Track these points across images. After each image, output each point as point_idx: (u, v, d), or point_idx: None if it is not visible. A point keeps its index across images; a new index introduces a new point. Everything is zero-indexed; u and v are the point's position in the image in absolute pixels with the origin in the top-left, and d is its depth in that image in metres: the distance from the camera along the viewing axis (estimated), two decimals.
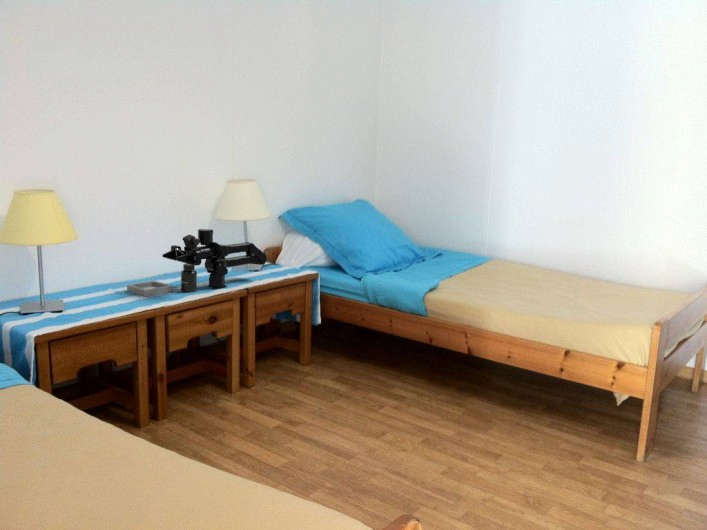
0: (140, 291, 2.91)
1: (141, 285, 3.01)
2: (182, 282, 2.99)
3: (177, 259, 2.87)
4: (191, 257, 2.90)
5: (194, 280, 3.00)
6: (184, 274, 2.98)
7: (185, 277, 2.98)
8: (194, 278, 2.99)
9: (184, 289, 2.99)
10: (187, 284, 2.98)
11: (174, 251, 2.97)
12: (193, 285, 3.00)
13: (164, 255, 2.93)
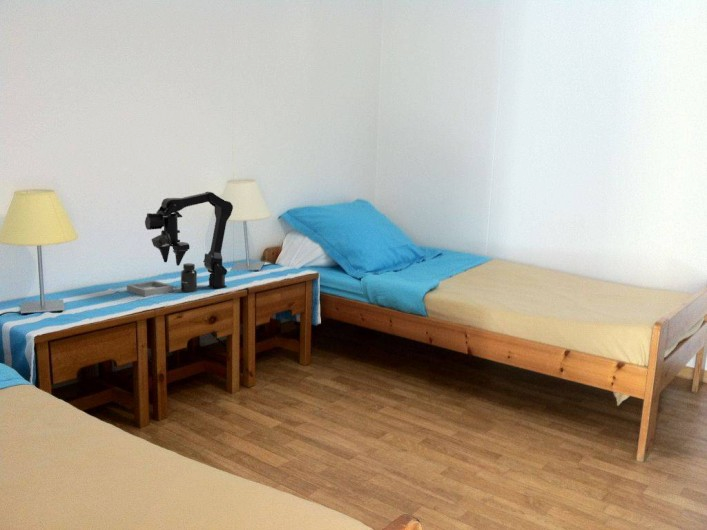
0: (140, 291, 2.91)
1: (141, 285, 3.01)
2: (182, 282, 2.99)
3: (178, 263, 2.93)
4: None
5: (194, 280, 3.00)
6: (184, 274, 2.98)
7: (185, 277, 2.98)
8: (194, 278, 2.99)
9: (184, 289, 2.99)
10: (187, 284, 2.98)
11: (162, 248, 2.97)
12: (193, 285, 3.00)
13: (165, 260, 2.98)
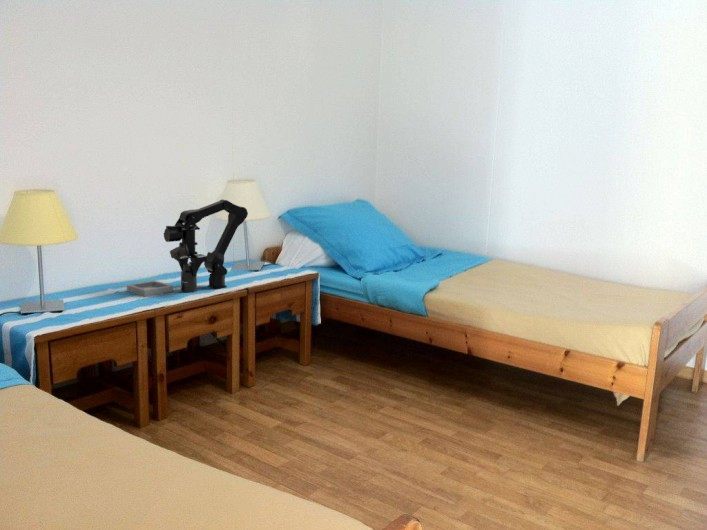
0: (140, 291, 2.91)
1: (141, 285, 3.01)
2: (182, 282, 2.99)
3: (194, 275, 2.98)
4: None
5: (194, 280, 3.00)
6: (184, 274, 2.98)
7: (185, 277, 2.98)
8: (194, 278, 2.99)
9: (184, 289, 2.99)
10: (187, 284, 2.98)
11: (181, 260, 3.01)
12: (193, 285, 2.99)
13: None
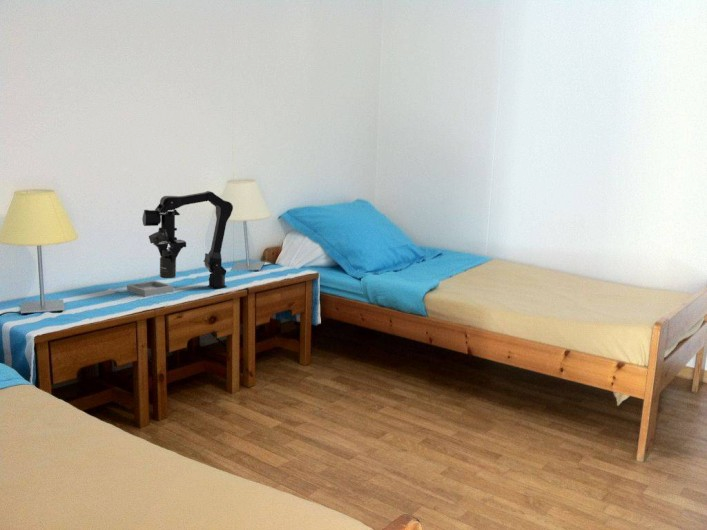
0: (140, 291, 2.91)
1: (141, 285, 3.01)
2: (161, 268, 2.96)
3: (173, 260, 2.95)
4: (175, 248, 2.93)
5: (173, 266, 2.96)
6: (163, 260, 2.94)
7: (164, 263, 2.94)
8: (173, 264, 2.96)
9: (163, 275, 2.96)
10: (166, 270, 2.95)
11: (160, 245, 2.98)
12: (172, 271, 2.96)
13: None
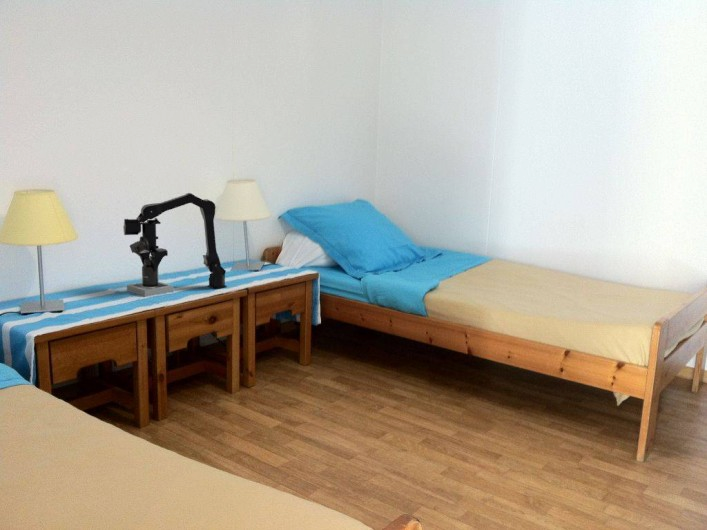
0: (140, 291, 2.91)
1: (141, 285, 3.01)
2: (143, 277, 2.95)
3: (155, 269, 2.95)
4: None
5: (155, 274, 2.96)
6: (145, 268, 2.94)
7: (146, 272, 2.94)
8: (155, 272, 2.96)
9: (145, 284, 2.95)
10: (148, 279, 2.94)
11: (142, 254, 2.98)
12: (154, 280, 2.96)
13: None
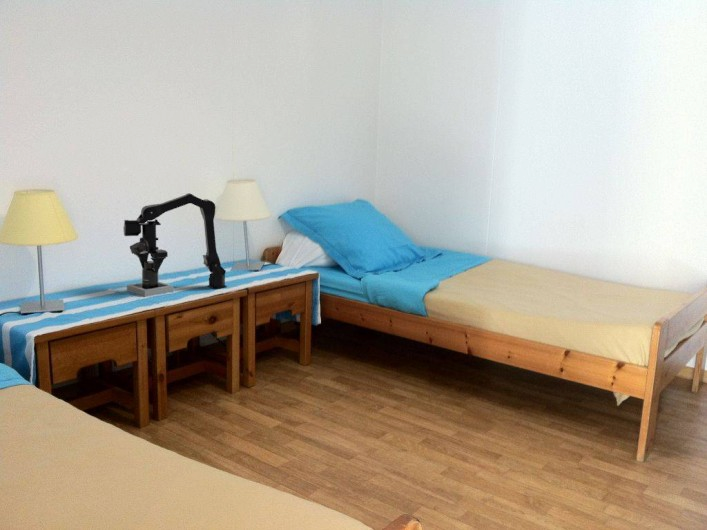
0: (140, 291, 2.91)
1: (141, 285, 3.01)
2: (143, 280, 2.95)
3: (156, 271, 2.94)
4: None
5: (155, 278, 2.96)
6: (145, 272, 2.94)
7: (146, 275, 2.94)
8: (155, 276, 2.96)
9: (145, 287, 2.95)
10: (148, 282, 2.95)
11: (140, 255, 2.98)
12: (154, 283, 2.96)
13: (143, 267, 3.00)
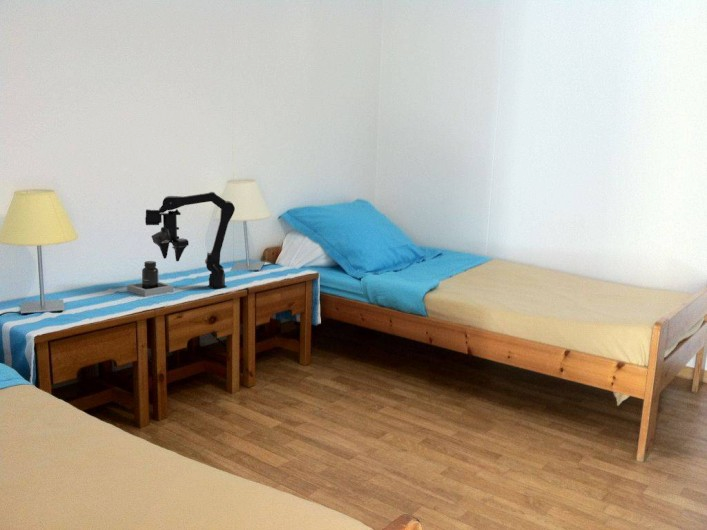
0: (140, 291, 2.91)
1: (141, 285, 3.01)
2: (143, 280, 2.95)
3: (178, 259, 3.01)
4: (179, 247, 2.99)
5: (155, 278, 2.96)
6: (145, 272, 2.94)
7: (146, 275, 2.94)
8: (155, 276, 2.96)
9: (145, 287, 2.95)
10: (148, 282, 2.95)
11: (161, 244, 3.05)
12: (154, 283, 2.96)
13: (164, 256, 3.07)
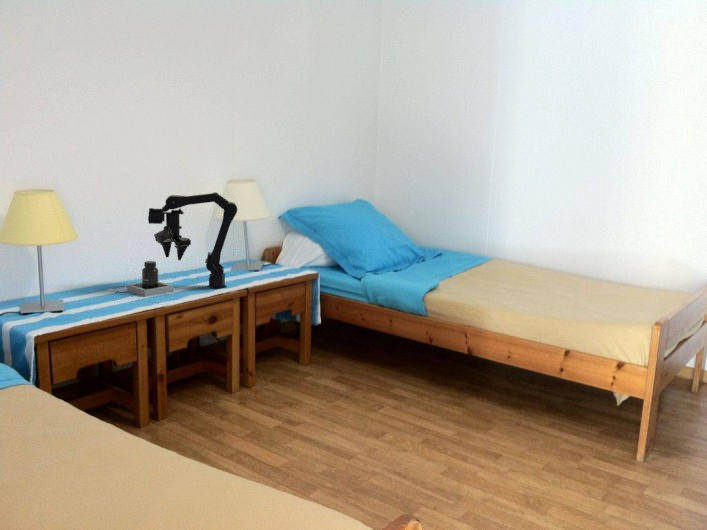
0: (140, 291, 2.91)
1: (141, 285, 3.01)
2: (143, 280, 2.95)
3: (180, 258, 3.02)
4: (181, 246, 3.00)
5: (155, 278, 2.96)
6: (145, 272, 2.94)
7: (146, 275, 2.94)
8: (155, 276, 2.96)
9: (145, 287, 2.95)
10: (148, 282, 2.95)
11: (164, 243, 3.06)
12: (154, 283, 2.96)
13: (167, 255, 3.08)
